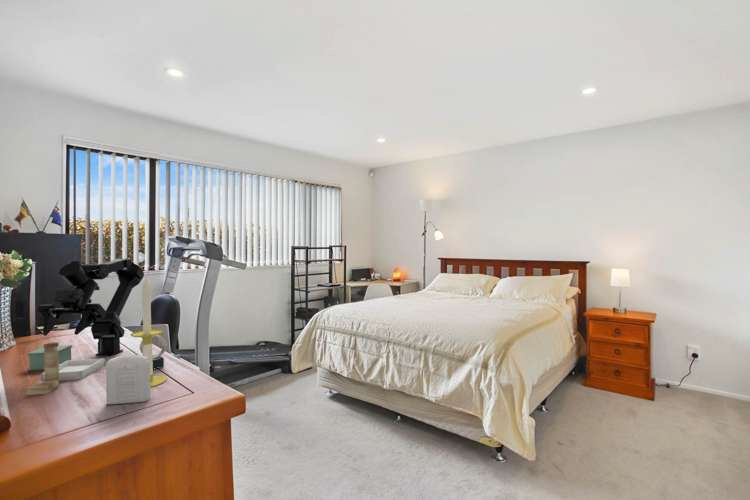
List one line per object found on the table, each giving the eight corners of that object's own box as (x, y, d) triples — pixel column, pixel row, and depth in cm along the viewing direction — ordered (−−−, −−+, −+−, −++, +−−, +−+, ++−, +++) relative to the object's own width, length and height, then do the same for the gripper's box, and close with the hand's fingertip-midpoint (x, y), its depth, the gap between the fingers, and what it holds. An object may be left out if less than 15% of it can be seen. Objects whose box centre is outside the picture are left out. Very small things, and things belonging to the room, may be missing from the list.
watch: (169, 365, 129) (169, 333, 129) (144, 371, 123) (143, 338, 122) (163, 362, 132) (162, 331, 132) (137, 368, 126) (137, 336, 126)
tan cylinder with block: (46, 384, 112) (45, 342, 112) (65, 382, 113) (64, 341, 113) (26, 395, 104) (25, 350, 104) (46, 393, 105) (45, 349, 105)
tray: (67, 367, 127) (67, 360, 127) (104, 365, 129) (104, 358, 129) (41, 381, 114) (40, 373, 114) (82, 378, 117) (81, 371, 116)
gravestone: (153, 396, 103) (152, 351, 103) (147, 402, 99) (146, 356, 99) (111, 399, 101) (110, 354, 100) (103, 406, 96) (102, 359, 96)
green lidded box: (72, 360, 135) (72, 342, 135) (57, 368, 126) (56, 349, 126) (45, 362, 133) (45, 344, 133) (28, 370, 125) (27, 351, 125)
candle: (171, 382, 113) (169, 275, 113) (133, 391, 106) (131, 278, 105) (160, 374, 120) (158, 274, 119) (124, 383, 113) (122, 276, 112)
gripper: (38, 280, 121) (11, 322, 111) (99, 279, 123) (77, 320, 113) (57, 299, 130) (34, 340, 120) (114, 298, 132) (96, 338, 121)
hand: (60, 334), depth 118 cm, fingers open, 9 cm apart
